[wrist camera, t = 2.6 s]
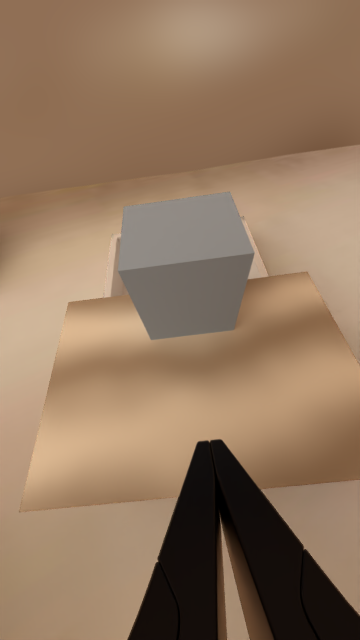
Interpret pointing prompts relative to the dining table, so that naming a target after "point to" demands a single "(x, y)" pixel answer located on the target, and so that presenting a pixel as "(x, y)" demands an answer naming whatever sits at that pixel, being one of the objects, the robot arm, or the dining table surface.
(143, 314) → the block
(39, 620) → the dining table surface
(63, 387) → the wood grain box
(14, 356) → the dining table surface
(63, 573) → the dining table surface
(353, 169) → the dining table surface
